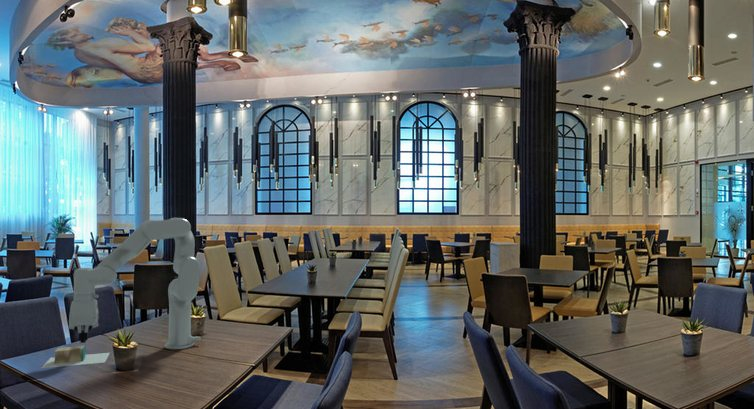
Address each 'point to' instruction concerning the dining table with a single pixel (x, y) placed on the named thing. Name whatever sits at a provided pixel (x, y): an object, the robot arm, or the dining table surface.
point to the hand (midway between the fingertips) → (83, 341)
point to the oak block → (70, 354)
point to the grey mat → (88, 360)
